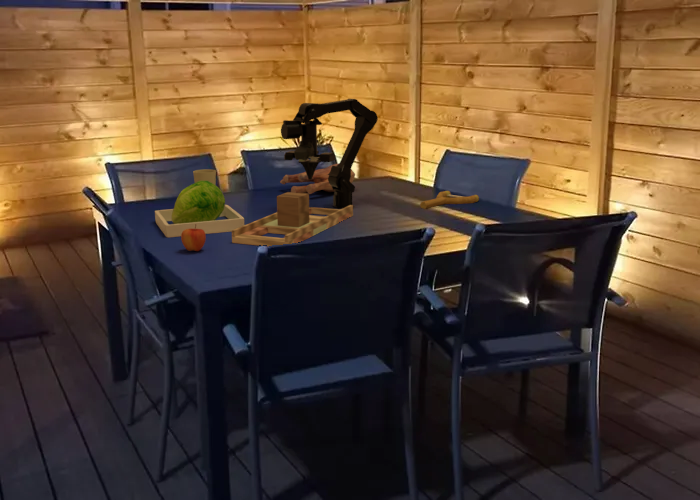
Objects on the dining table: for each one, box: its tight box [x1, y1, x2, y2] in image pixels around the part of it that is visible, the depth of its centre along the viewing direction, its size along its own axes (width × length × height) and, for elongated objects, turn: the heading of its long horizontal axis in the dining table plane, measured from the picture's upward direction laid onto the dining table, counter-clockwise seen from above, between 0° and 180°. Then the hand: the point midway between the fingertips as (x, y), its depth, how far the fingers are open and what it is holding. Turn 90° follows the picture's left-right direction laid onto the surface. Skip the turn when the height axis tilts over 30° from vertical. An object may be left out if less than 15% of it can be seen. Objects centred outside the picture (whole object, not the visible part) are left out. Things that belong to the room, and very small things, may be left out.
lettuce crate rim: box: [154, 204, 245, 238], centre depth 269 cm, size 26×26×4 cm
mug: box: [192, 168, 217, 186], centre depth 315 cm, size 11×10×12 cm
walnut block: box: [276, 191, 310, 227], centre depth 261 cm, size 8×8×10 cm
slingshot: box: [419, 190, 480, 209], centre depth 304 cm, size 18×3×25 cm
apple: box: [180, 224, 207, 252], centre depth 235 cm, size 7×7×8 cm
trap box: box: [231, 204, 354, 247], centre depth 264 cm, size 51×20×4 cm, turn 157°
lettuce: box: [171, 181, 226, 224], centre depth 269 cm, size 17×20×17 cm
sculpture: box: [279, 162, 356, 195], centre depth 331 cm, size 12×26×30 cm
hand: (310, 179), depth 290 cm, fingers closed
